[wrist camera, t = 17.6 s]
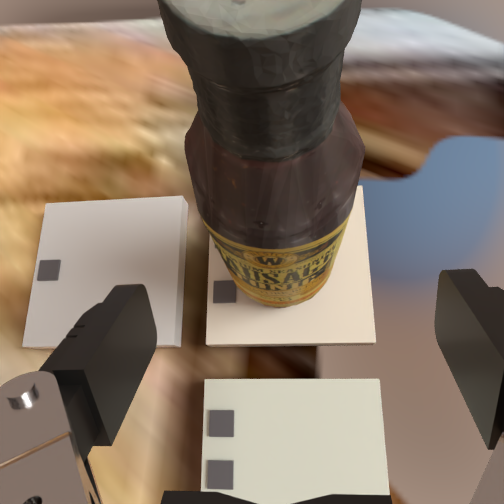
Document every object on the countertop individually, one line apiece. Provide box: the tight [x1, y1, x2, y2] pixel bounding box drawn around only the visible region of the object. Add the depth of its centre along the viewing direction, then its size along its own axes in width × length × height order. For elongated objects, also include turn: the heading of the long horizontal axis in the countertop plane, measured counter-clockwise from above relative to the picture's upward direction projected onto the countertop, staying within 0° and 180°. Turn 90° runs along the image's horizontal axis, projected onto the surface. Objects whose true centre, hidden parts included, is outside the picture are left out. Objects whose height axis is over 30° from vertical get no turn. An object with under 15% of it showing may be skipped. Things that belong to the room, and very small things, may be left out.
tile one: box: [22, 196, 188, 349], centre depth 28 cm, size 10×10×2 cm
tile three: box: [201, 379, 390, 504], centre depth 23 cm, size 10×10×2 cm
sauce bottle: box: [157, 0, 365, 308], centre depth 17 cm, size 7×6×20 cm
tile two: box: [206, 186, 376, 347], centre depth 27 cm, size 10×10×2 cm
